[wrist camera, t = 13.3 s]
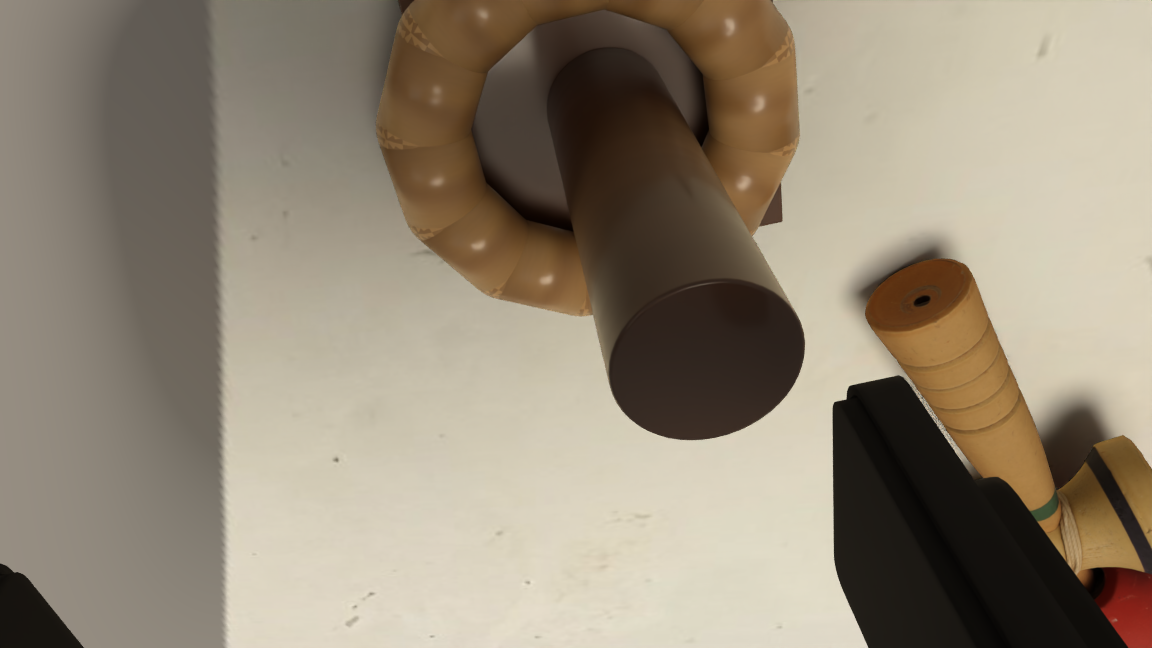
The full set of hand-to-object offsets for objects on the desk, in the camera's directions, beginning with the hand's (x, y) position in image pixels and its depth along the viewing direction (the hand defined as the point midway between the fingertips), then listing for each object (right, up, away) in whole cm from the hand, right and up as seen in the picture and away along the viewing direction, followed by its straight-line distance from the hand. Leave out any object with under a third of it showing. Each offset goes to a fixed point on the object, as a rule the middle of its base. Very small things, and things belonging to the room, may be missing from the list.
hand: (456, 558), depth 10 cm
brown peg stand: (+2, +8, +11) cm, 14 cm away
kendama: (+15, -1, +20) cm, 25 cm away
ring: (+2, +7, +10) cm, 12 cm away
